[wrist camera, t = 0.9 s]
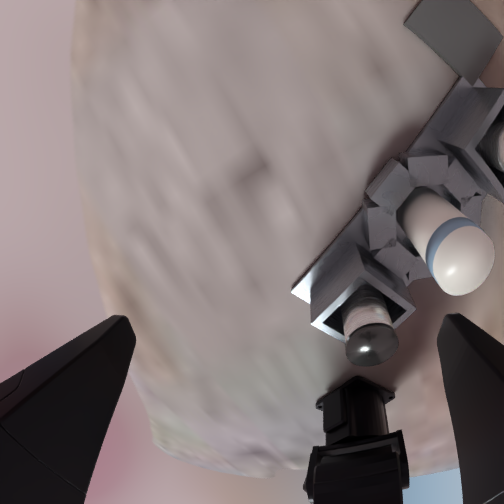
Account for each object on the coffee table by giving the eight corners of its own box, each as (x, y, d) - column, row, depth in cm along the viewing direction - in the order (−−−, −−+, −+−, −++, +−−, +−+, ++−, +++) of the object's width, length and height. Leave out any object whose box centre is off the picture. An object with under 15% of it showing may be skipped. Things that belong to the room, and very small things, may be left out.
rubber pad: (500, 37, 11) (503, 36, 10) (469, 87, 13) (472, 87, 13) (439, -23, 10) (441, -25, 9) (403, 24, 13) (405, 23, 12)
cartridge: (452, 208, 17) (505, 257, 11) (420, 247, 19) (459, 307, 13) (420, 175, 17) (472, 214, 11) (386, 217, 18) (422, 272, 12)
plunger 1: (392, 298, 19) (408, 342, 15) (362, 326, 20) (370, 372, 16) (361, 275, 18) (374, 319, 14) (330, 307, 20) (334, 353, 16)
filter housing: (524, 144, 14) (559, 157, 10) (363, 332, 24) (370, 370, 20) (459, 59, 13) (492, 55, 9) (283, 284, 22) (280, 321, 19)
